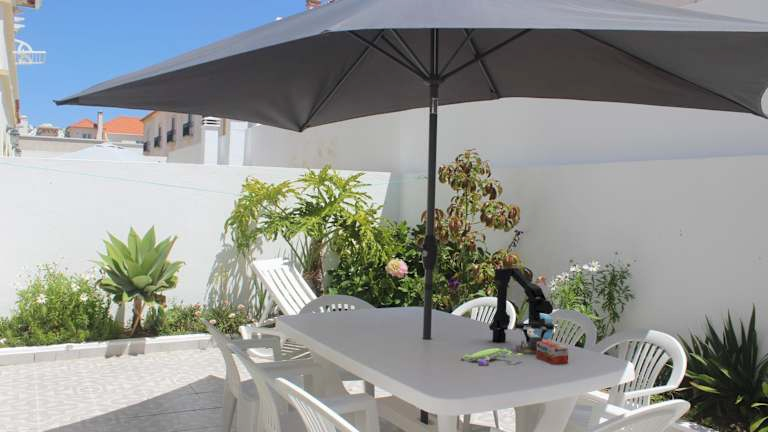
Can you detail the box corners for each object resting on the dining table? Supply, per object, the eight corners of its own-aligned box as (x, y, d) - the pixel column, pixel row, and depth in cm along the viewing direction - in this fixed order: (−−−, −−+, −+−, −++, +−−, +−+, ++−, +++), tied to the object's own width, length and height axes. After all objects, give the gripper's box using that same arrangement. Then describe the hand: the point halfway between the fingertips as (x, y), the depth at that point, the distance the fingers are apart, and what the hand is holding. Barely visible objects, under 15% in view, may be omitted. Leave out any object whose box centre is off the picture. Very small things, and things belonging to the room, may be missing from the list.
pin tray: (519, 353, 330) (519, 345, 330) (516, 347, 346) (516, 339, 346) (552, 354, 328) (552, 346, 328) (547, 347, 344) (547, 339, 344)
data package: (552, 338, 369) (552, 316, 369) (545, 339, 368) (545, 317, 367) (540, 334, 380) (540, 313, 380) (533, 335, 379) (533, 314, 379)
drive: (530, 347, 332) (530, 337, 332) (525, 343, 342) (526, 333, 342) (542, 347, 332) (542, 337, 332) (537, 343, 342) (537, 333, 342)
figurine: (526, 364, 309) (526, 352, 309) (473, 367, 302) (473, 355, 302) (508, 355, 327) (509, 344, 327) (458, 358, 320) (458, 347, 320)
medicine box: (568, 363, 311) (568, 346, 310) (553, 364, 308) (553, 347, 308) (550, 356, 325) (550, 340, 325) (535, 357, 322) (535, 341, 322)
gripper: (517, 314, 330) (517, 345, 330) (555, 314, 328) (555, 346, 328) (514, 310, 341) (514, 340, 341) (552, 311, 339) (551, 341, 339)
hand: (533, 342), depth 337 cm, fingers closed on drive, 6 cm apart
